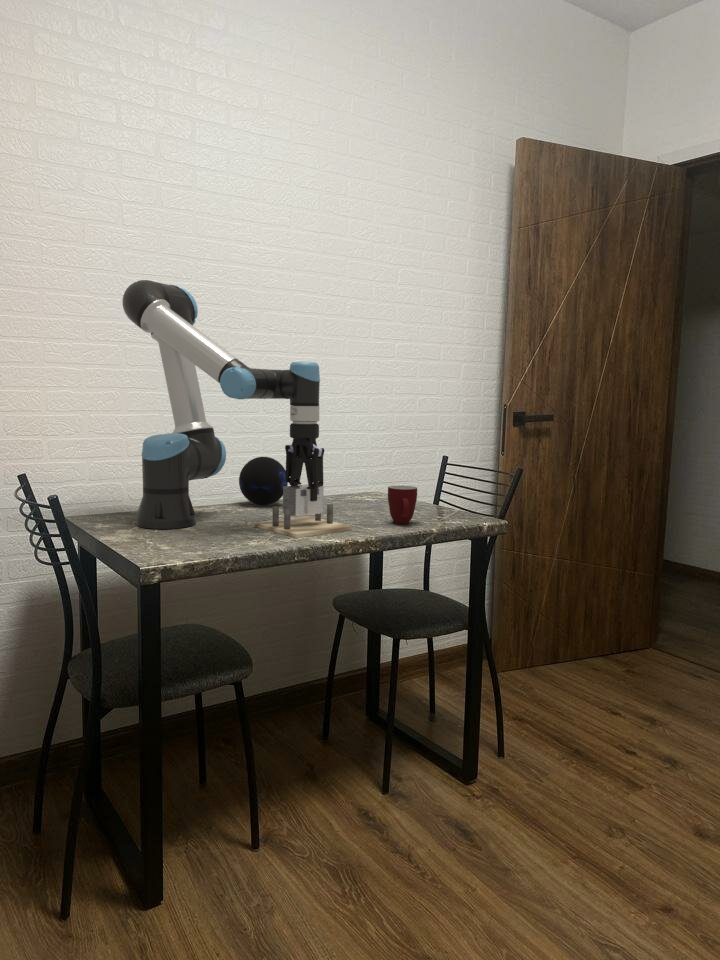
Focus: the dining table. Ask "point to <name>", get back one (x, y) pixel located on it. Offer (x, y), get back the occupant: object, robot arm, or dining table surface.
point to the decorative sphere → (262, 480)
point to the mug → (402, 503)
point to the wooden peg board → (302, 524)
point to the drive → (300, 499)
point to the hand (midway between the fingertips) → (303, 511)
